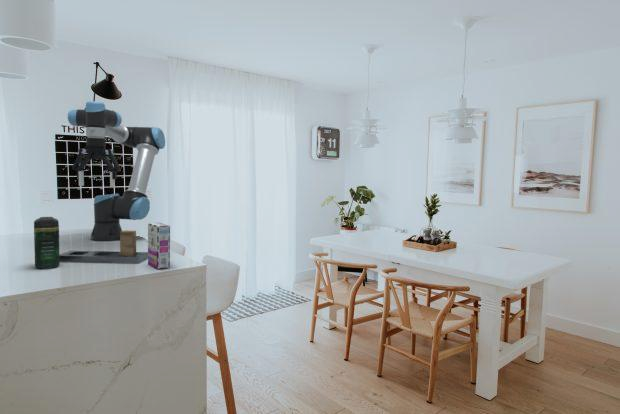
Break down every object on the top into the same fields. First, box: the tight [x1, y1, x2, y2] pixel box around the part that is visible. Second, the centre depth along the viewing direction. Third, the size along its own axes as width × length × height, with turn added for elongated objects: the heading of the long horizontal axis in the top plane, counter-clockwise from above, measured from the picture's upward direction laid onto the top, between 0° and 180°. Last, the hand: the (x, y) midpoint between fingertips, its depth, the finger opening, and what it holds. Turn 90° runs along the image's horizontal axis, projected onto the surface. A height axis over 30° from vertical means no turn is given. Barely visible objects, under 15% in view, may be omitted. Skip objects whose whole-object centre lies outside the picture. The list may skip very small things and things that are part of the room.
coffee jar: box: [33, 216, 61, 269], centre depth 152 cm, size 10×8×19 cm
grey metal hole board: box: [59, 250, 148, 265], centre depth 165 cm, size 10×32×2 cm, turn 91°
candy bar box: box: [147, 222, 171, 270], centre depth 157 cm, size 11×5×16 cm, turn 40°
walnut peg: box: [119, 229, 137, 256], centre depth 164 cm, size 4×4×12 cm
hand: (97, 186), depth 180 cm, fingers open, 13 cm apart
